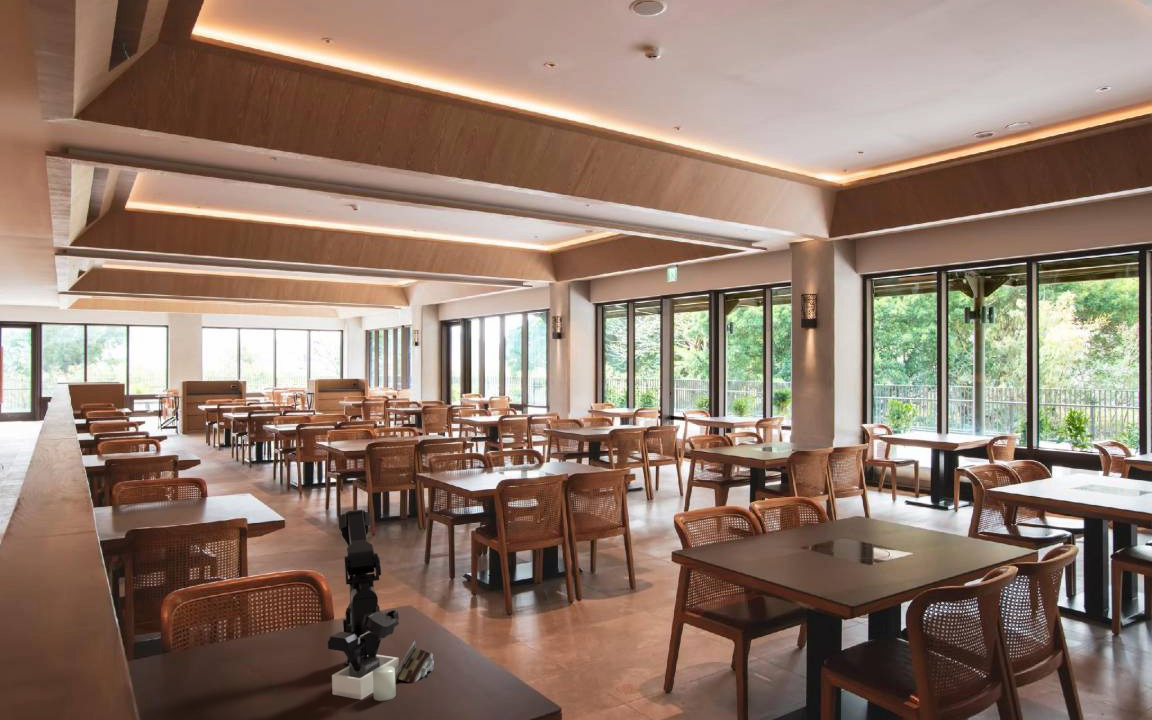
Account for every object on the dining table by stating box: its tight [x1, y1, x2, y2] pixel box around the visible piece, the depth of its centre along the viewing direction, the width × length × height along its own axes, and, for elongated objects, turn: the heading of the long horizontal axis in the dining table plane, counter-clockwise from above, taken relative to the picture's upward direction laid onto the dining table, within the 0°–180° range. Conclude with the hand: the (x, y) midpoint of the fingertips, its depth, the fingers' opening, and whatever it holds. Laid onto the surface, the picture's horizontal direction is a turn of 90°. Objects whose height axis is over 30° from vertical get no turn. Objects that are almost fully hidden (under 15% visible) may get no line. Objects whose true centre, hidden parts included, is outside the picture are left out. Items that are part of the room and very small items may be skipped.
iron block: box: [349, 656, 380, 678], centre depth 180 cm, size 5×5×5 cm
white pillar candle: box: [373, 666, 397, 702], centre depth 174 cm, size 5×5×6 cm
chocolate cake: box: [395, 639, 435, 684], centre depth 186 cm, size 10×7×12 cm
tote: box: [331, 654, 400, 700], centre depth 180 cm, size 8×14×4 cm, turn 156°
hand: (364, 666), depth 180 cm, fingers closed on iron block, 5 cm apart
